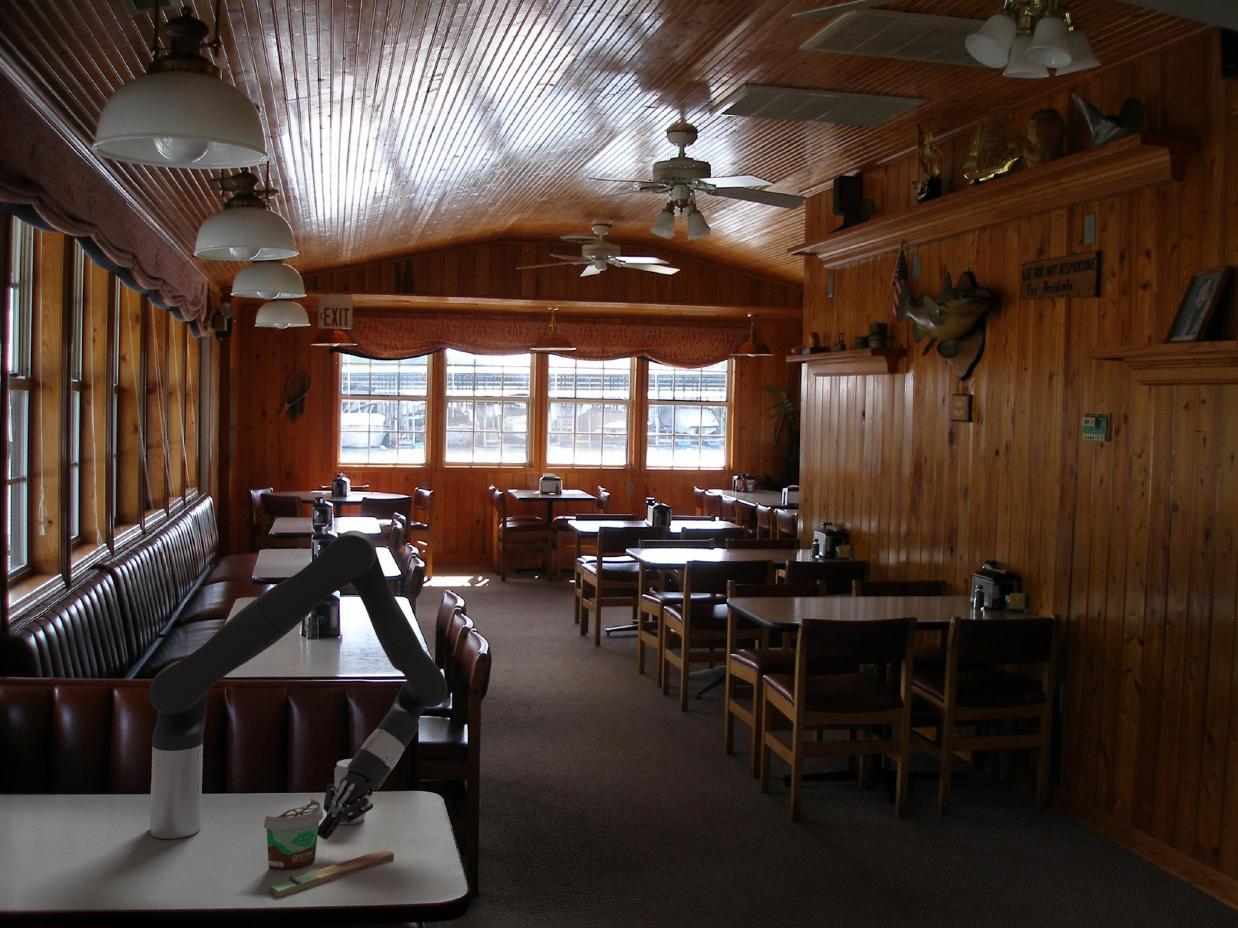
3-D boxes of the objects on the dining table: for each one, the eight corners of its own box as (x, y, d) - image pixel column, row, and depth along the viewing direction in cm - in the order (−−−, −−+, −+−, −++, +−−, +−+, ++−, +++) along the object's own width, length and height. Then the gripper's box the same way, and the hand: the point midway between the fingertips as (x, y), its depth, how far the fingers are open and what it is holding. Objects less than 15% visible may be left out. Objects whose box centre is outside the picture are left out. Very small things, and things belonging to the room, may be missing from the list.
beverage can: (356, 826, 216) (358, 768, 216) (327, 823, 217) (329, 765, 217) (370, 816, 222) (372, 759, 222) (341, 813, 224) (343, 756, 223)
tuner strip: (269, 891, 184) (269, 883, 184) (384, 854, 202) (384, 846, 202) (278, 896, 182) (278, 888, 182) (393, 859, 200) (393, 851, 200)
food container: (287, 879, 190) (288, 823, 190) (262, 871, 193) (263, 816, 192) (336, 856, 201) (337, 803, 200) (311, 849, 203) (313, 797, 203)
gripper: (345, 740, 211) (289, 817, 202) (386, 754, 203) (329, 835, 194) (367, 761, 215) (312, 837, 206) (408, 776, 207) (353, 856, 198)
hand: (321, 836), depth 200 cm, fingers closed
